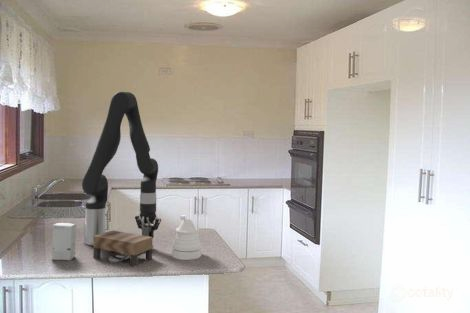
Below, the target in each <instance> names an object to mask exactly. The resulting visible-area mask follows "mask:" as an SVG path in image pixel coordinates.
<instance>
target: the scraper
mask: <svg viewBox="0 0 470 313" xmlns="http://www.w3.org/2000/svg"><path fill="white" fill-rule="evenodd" d="M141 235H143V236H149V227H148V225H147V226H144V227H142V230H141ZM153 248H154V245H153V244H152V249H153ZM144 252H145V253H146V251H144ZM144 252H143V253H144ZM139 254H141V253H139ZM139 254H138V255H139ZM118 255H119V256H123V261H126V260H127V259H130V254H125V253H120V254H118Z"/></svg>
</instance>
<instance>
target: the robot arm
mask: <svg viewBox="0 0 470 313" xmlns="http://www.w3.org/2000/svg"><path fill="white" fill-rule="evenodd" d="M107 111H108V112H107V116H106V120H105V122H104V126H103V128H102V130H101V134H100V136H99V139H98V142H97V145H96V147H95V151H94V153H93V156H92V159H91V162H90V164H89V166H88V169H87V171H86V173H85V174H84V177H83V179H82V182H81V187H82V191H83V193H84V194H86V195H89V198H88V199H87V201H86V202H85V208H84V209H85V223H83V244H86V245H88V246H94V236H96V235H99V234H102V233H106V224H107V223H106V222H107V221H106V220H107V219H106V217H107V216H106V215H107V214H106V210H107V209H106V208H107V207H106V205H107V202H108V198H109V197H108V196H109V182H108V179H107V177H106V175H104V174H103V172H104V170H105V169H106V167H107V166H108V164H109V163H110V162H111V161H112V159H113V158H114V157H115V155H116V154H117V151H118V149H119V145H120V143H121V139H122V138H121V133H122V132H121V125H122V121H123V120H124V119H123V118H124V116H126V118H127V122H128V126H129V138H130V142H131V145H132V148H133V151H134V153H135V159H136V166H137V168H138V171H140V173H141V174H142V175H143V176H142V180H141V181H140V194H139V212H140V213H139V215H136V216H134V219H135V222H136V225H137V228H138V229H140V230H141V231H142V227H144V226H148V227H149V237H152V240H153V239H154V232H155V231H157V230H158V229H159V226H160V224H161V221H162V219H161V218H158V217H157V180H158V174H159V164H158V162H157V160H156V159H155V158H151V155H150V151H151V147H150V145H149V141H148V139H147V136H146V133H145V130H144V127H143V123H142V120H141V115H140V109H139V105H138V100H137V98H136V96H135V94H133V93H132V92H129V91H117V92H116V93H114V94H113V96H112V97H111V100H110V103H109V107H108V110H107Z"/></svg>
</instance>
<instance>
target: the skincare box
mask: <svg viewBox="0 0 470 313" xmlns="http://www.w3.org/2000/svg"><path fill="white" fill-rule="evenodd" d="M76 234H77V223H69V222H57V223H54V224H53V225H52V238H51V239H52V242H51V243H52V244H51V260H53V261H71V260H73V259H75V257H76V240H77V239H76V237H77V235H76Z"/></svg>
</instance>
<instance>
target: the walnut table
mask: <svg viewBox="0 0 470 313" xmlns="http://www.w3.org/2000/svg"><path fill="white" fill-rule="evenodd" d="M152 245H153V239H152V237H149V236H143V235H142V234H136V233H130V232H124V231H119V230H110V231H107V232H106V233H102V234H99V235H96V236H94V245H93V258H94V259H100V258H101V250H106V251H109V253H112V254H113V253H114V254H115V253H120V254H123V253H125V254H130V258H129V259H130V261H129V262H130V266H131V267H135V266H137V265H138V255H139V253H140V254H142V253H144V251H145V260H148V261H149V260H152V259H153V248H152Z"/></svg>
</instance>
